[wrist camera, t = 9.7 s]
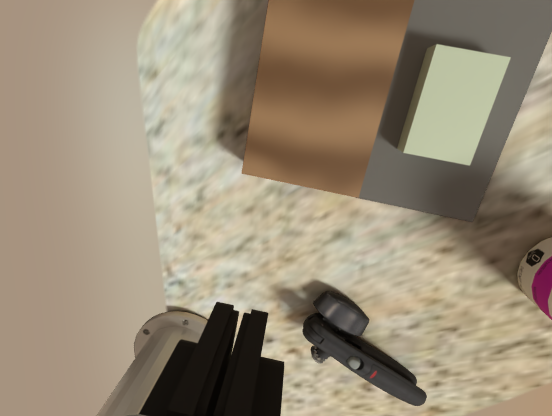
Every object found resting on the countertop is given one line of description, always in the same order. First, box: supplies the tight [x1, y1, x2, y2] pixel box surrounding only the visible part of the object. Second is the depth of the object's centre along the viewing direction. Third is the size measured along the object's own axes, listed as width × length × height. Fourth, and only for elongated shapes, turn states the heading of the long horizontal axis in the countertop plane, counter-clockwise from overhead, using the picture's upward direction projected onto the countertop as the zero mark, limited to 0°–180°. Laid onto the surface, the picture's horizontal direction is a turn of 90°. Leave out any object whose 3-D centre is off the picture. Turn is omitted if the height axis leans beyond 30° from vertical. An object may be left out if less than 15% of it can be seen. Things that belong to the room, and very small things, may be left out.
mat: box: [356, 0, 552, 222], centre depth 31 cm, size 20×12×1 cm, turn 169°
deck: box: [242, 0, 414, 198], centre depth 30 cm, size 18×11×4 cm, turn 169°
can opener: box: [303, 291, 427, 406], centre depth 38 cm, size 18×7×6 cm, turn 49°
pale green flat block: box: [397, 44, 511, 166], centre depth 29 cm, size 9×6×2 cm, turn 170°
